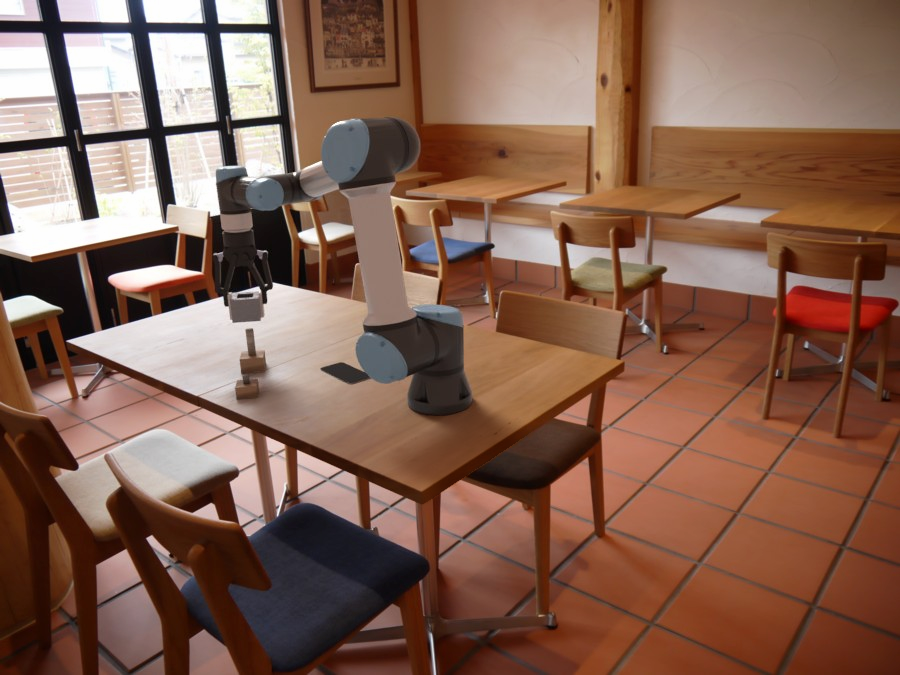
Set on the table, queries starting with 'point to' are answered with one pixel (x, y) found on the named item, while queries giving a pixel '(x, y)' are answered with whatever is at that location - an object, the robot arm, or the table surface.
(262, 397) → the table surface
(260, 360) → the wooden peg stand
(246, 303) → the grey hollow square block
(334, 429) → the table surface
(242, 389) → the block
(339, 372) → the smartphone
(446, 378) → the robot arm
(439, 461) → the table surface
